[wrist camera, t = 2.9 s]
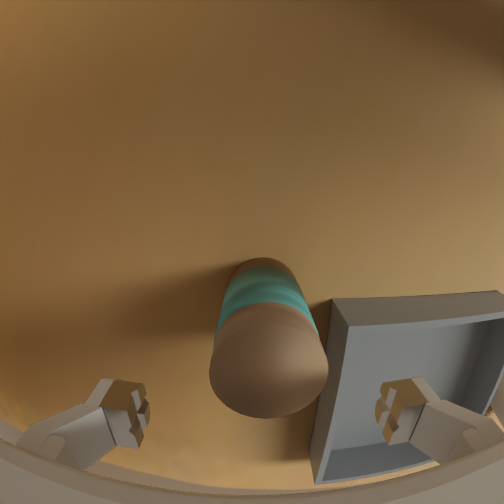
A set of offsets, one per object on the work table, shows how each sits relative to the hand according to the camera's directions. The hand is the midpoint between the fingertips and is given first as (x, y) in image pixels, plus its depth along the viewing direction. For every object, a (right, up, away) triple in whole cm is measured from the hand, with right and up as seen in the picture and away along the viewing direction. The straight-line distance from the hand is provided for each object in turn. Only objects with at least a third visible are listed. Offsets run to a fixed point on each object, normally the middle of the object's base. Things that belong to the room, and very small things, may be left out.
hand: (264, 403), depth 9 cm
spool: (0, +2, +10) cm, 10 cm away
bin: (+12, -5, +12) cm, 18 cm away
